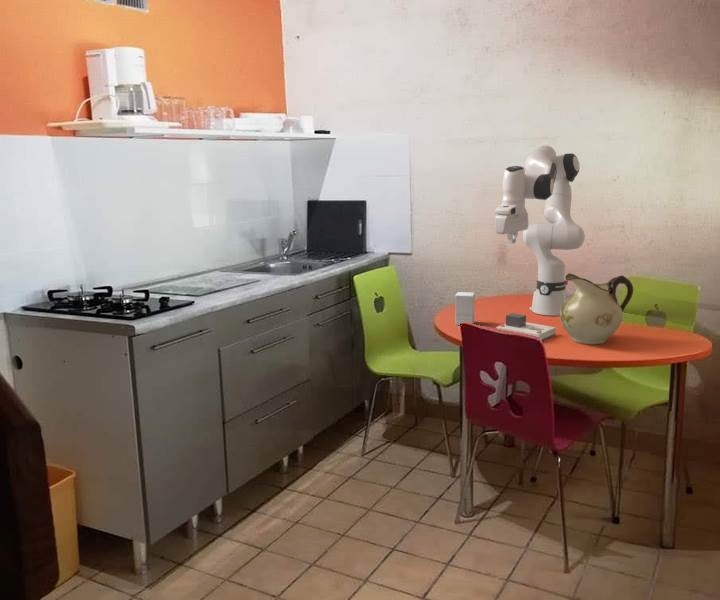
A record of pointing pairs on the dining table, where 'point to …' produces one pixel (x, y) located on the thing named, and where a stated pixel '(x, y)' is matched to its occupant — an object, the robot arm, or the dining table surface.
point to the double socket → (532, 330)
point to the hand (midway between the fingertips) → (511, 243)
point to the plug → (515, 320)
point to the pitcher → (593, 309)
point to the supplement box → (464, 307)
